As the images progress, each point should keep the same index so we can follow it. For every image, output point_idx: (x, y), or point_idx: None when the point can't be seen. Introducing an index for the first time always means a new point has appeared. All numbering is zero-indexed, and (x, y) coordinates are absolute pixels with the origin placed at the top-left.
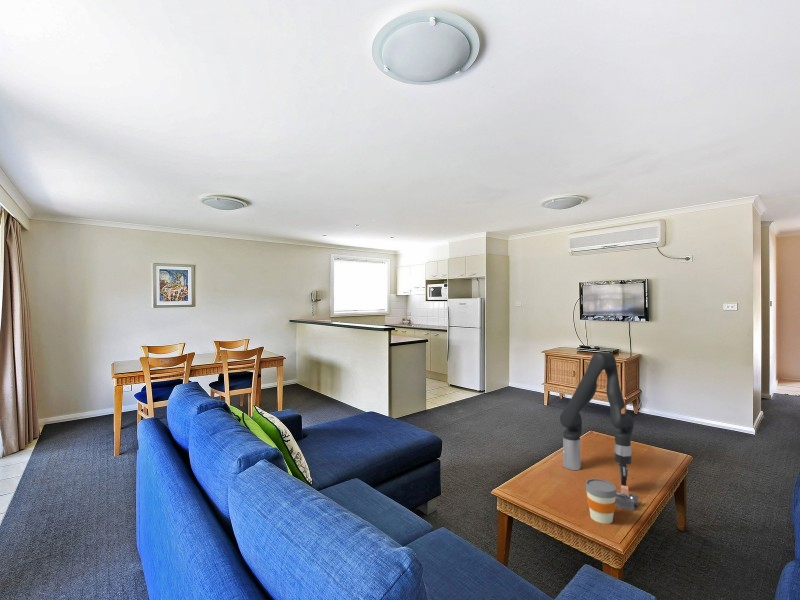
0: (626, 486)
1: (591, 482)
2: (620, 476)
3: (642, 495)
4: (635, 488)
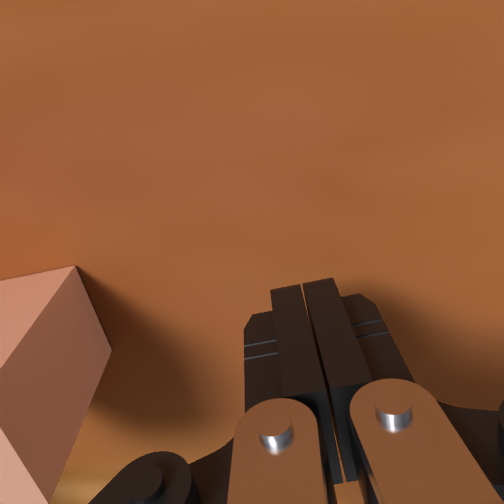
0: (10, 489)
1: None
2: (377, 410)
3: None
4: (460, 391)
